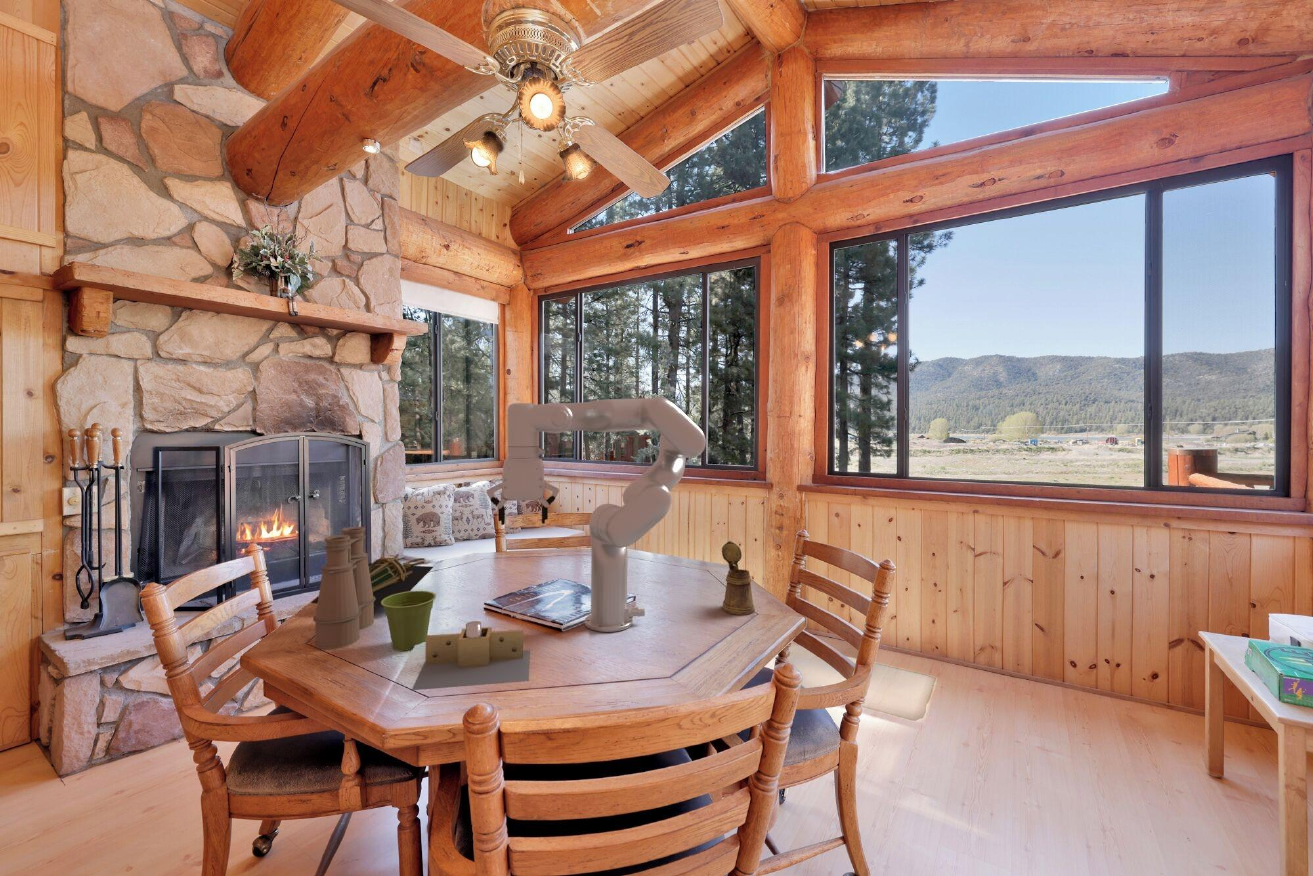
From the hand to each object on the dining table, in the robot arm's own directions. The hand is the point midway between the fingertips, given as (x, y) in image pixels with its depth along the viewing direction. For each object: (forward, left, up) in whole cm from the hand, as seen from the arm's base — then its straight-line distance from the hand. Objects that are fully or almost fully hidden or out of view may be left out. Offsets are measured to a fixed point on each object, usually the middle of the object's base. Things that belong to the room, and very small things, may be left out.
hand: (523, 523), depth 136 cm
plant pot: (+26, +1, -28) cm, 38 cm away
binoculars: (+43, -10, -28) cm, 52 cm away
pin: (+10, +15, -27) cm, 32 cm away
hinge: (+10, +15, -27) cm, 32 cm away
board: (+9, +19, -28) cm, 35 cm away
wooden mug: (-60, -12, -28) cm, 67 cm away
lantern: (+42, -37, -28) cm, 63 cm away
